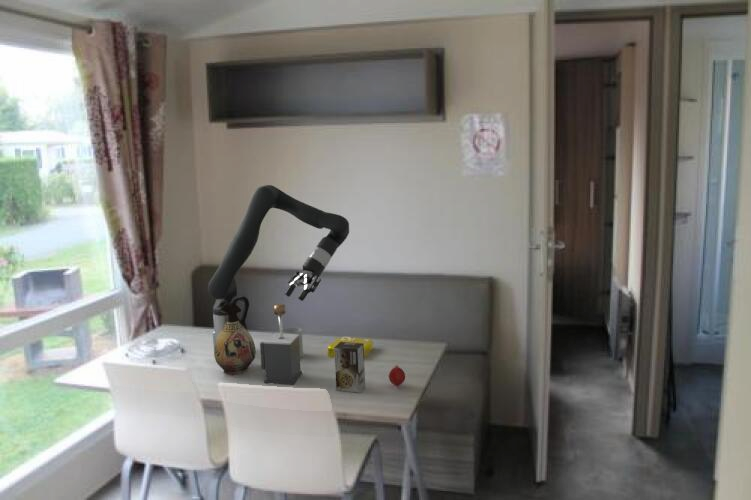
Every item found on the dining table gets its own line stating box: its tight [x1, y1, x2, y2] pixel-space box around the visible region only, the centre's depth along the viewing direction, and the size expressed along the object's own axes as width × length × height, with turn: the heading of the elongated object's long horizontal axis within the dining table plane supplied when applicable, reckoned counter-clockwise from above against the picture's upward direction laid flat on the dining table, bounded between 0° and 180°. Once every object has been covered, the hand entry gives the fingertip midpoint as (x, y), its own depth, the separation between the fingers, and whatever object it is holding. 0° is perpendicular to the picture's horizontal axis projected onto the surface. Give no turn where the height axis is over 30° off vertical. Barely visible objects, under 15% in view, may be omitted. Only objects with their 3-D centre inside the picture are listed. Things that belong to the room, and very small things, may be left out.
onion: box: [388, 364, 406, 387], centre depth 232 cm, size 6×6×8 cm
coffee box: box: [334, 342, 366, 394], centre depth 231 cm, size 9×6×16 cm
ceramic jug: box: [213, 294, 257, 376], centre depth 249 cm, size 17×15×30 cm
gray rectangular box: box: [259, 332, 303, 385], centre depth 242 cm, size 14×11×16 cm
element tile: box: [327, 336, 374, 358], centre depth 269 cm, size 15×15×5 cm
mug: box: [277, 326, 304, 359], centre depth 266 cm, size 12×8×11 cm
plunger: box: [273, 303, 287, 339], centre depth 240 cm, size 8×8×19 cm
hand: (293, 297), depth 242 cm, fingers open, 8 cm apart
